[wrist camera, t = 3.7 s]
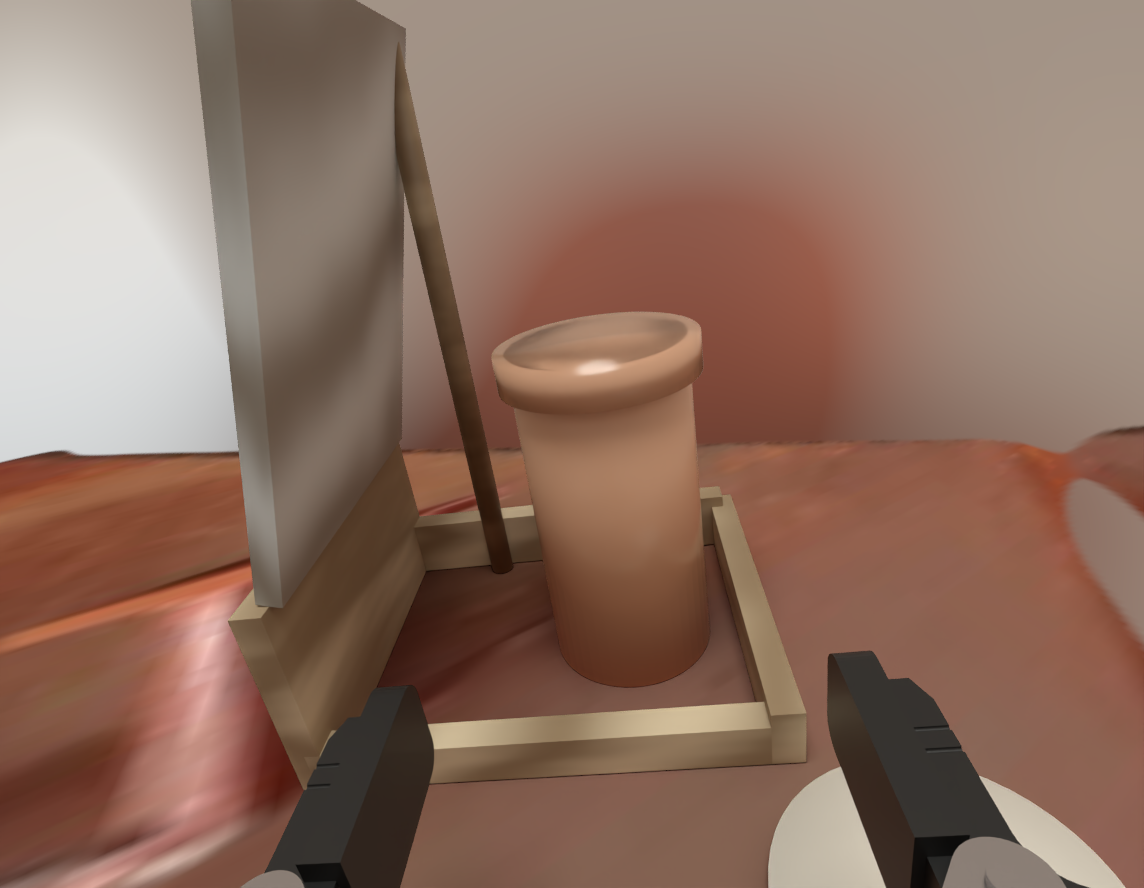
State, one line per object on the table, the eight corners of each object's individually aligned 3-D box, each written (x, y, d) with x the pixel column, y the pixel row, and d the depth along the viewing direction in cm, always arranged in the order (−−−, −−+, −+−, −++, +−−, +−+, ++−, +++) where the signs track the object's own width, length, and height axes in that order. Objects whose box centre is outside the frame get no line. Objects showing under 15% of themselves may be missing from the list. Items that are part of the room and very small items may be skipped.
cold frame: (304, 790, 21) (-69, -39, 12) (412, 561, 33) (263, 50, 24) (806, 762, 20) (808, -224, 11) (732, 530, 32) (703, -30, 22)
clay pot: (541, 701, 23) (473, 387, 19) (555, 585, 30) (507, 326, 25) (734, 688, 23) (716, 357, 18) (707, 572, 29) (688, 303, 24)
